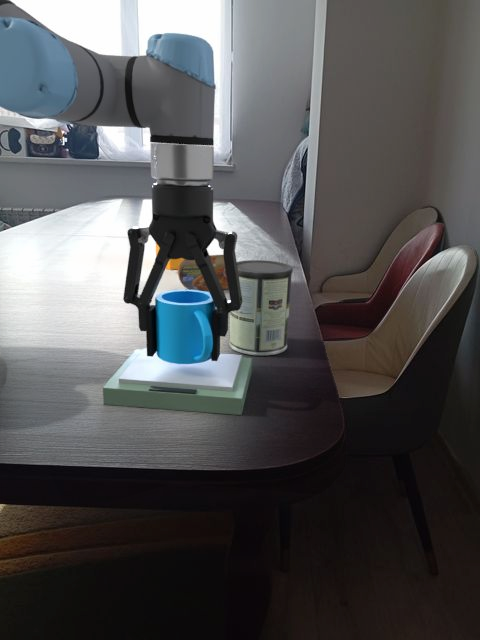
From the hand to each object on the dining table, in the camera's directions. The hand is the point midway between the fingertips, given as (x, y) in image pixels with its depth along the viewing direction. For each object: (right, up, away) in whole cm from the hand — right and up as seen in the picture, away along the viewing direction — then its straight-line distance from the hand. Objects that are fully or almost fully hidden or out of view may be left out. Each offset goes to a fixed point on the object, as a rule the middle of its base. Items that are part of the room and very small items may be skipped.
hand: (184, 355), depth 71 cm
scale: (0, -5, +2) cm, 5 cm away
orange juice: (-15, +25, +77) cm, 83 cm away
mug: (+1, -1, 0) cm, 1 cm away
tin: (-2, +15, +54) cm, 57 cm away
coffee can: (+10, +1, +19) cm, 22 cm away
